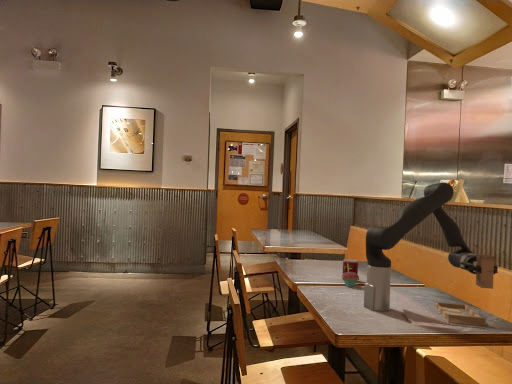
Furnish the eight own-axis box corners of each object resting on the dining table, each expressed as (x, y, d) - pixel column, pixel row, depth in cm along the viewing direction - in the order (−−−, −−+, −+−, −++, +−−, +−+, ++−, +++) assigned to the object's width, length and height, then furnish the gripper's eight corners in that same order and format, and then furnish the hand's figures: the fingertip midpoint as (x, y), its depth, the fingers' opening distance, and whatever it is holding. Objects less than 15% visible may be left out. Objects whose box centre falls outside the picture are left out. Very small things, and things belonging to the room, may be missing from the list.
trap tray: (434, 308, 160) (434, 299, 160) (466, 311, 157) (466, 302, 157) (448, 325, 138) (448, 314, 138) (485, 329, 135) (485, 318, 136)
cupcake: (346, 288, 191) (347, 263, 191) (338, 284, 199) (339, 260, 199) (362, 287, 193) (362, 263, 193) (353, 283, 201) (354, 260, 201)
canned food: (339, 279, 211) (340, 259, 211) (351, 278, 215) (351, 258, 215) (348, 282, 204) (349, 261, 205) (360, 281, 208) (361, 261, 208)
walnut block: (475, 284, 151) (476, 253, 151) (487, 285, 150) (488, 254, 150) (481, 287, 145) (482, 255, 145) (493, 288, 144) (494, 256, 144)
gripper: (454, 253, 163) (467, 259, 146) (491, 255, 160) (509, 262, 143) (453, 271, 163) (466, 279, 146) (491, 273, 160) (508, 282, 143)
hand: (487, 271), depth 145 cm, fingers closed on walnut block, 4 cm apart
